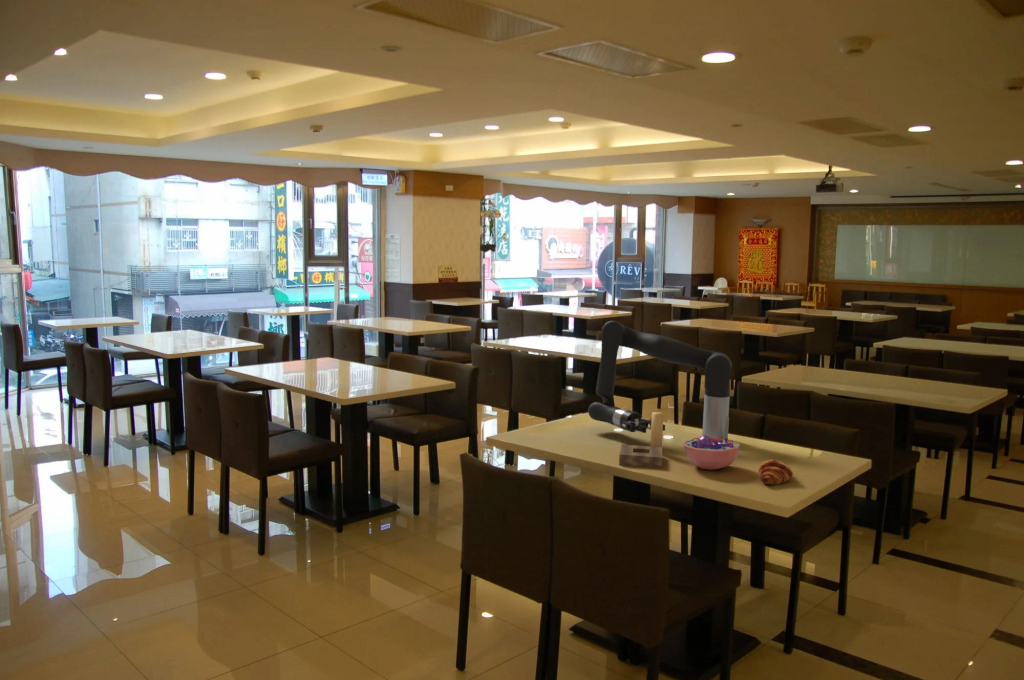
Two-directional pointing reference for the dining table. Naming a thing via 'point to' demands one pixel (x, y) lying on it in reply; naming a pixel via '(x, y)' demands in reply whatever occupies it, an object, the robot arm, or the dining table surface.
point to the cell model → (711, 452)
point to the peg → (656, 429)
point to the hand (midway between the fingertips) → (655, 429)
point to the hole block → (640, 456)
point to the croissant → (774, 472)
